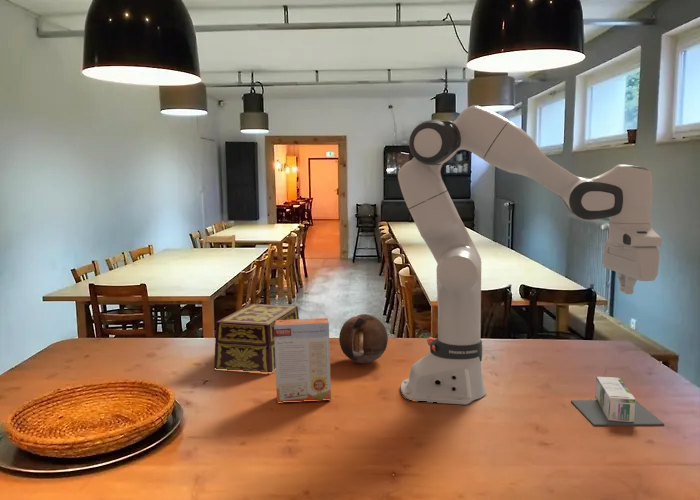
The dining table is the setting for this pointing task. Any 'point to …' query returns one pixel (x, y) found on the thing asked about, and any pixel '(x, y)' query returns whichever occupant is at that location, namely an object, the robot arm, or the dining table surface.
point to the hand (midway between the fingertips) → (626, 293)
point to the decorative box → (250, 337)
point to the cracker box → (302, 359)
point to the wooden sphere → (363, 338)
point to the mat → (598, 418)
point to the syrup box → (615, 399)
